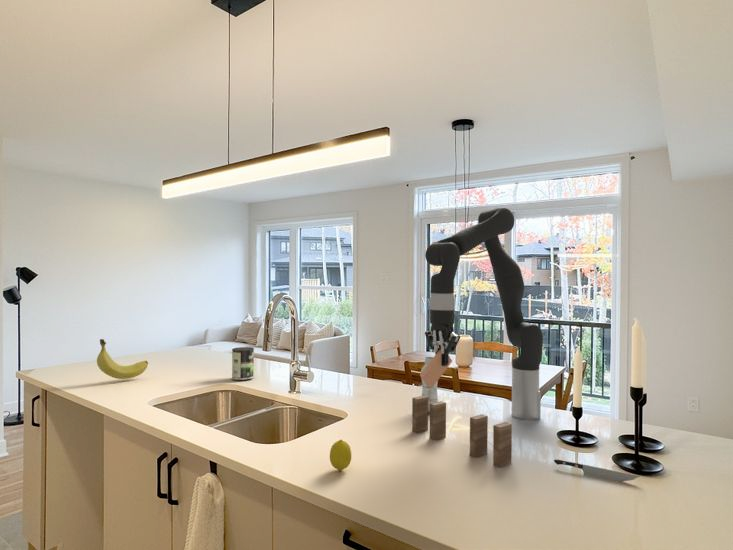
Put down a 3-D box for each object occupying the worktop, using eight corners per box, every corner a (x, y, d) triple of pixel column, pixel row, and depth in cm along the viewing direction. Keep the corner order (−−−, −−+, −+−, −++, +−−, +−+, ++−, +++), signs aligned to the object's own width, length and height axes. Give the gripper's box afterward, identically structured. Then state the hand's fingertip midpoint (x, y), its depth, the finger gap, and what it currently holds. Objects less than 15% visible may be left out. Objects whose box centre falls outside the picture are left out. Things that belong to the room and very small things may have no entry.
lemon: (343, 477, 111) (343, 445, 111) (325, 472, 113) (325, 440, 113) (355, 469, 115) (355, 438, 115) (338, 464, 118) (338, 434, 118)
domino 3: (445, 438, 138) (446, 402, 138) (434, 441, 135) (434, 405, 135) (441, 436, 140) (441, 401, 140) (429, 439, 137) (429, 403, 137)
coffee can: (256, 375, 224) (256, 347, 224) (250, 380, 213) (250, 350, 213) (235, 375, 224) (235, 346, 224) (228, 379, 213) (229, 350, 213)
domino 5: (511, 465, 119) (511, 423, 119) (499, 469, 116) (499, 427, 116) (505, 462, 120) (505, 421, 120) (493, 467, 118) (493, 425, 118)
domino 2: (432, 388, 133) (452, 361, 138) (424, 376, 131) (444, 349, 136) (427, 386, 135) (447, 360, 139) (419, 375, 133) (440, 348, 138)
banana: (145, 374, 224) (145, 334, 224) (150, 375, 220) (150, 335, 220) (94, 382, 207) (95, 338, 207) (99, 384, 203) (100, 339, 203)
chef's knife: (640, 488, 106) (640, 475, 106) (640, 490, 106) (640, 477, 106) (554, 469, 116) (554, 458, 116) (553, 471, 115) (553, 459, 115)
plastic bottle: (438, 415, 161) (439, 359, 161) (419, 413, 163) (420, 358, 163) (439, 410, 168) (439, 356, 168) (421, 408, 169) (421, 355, 169)
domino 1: (427, 430, 145) (428, 396, 145) (416, 434, 142) (416, 399, 142) (423, 429, 146) (423, 395, 146) (412, 432, 144) (412, 397, 144)
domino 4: (487, 455, 125) (487, 416, 125) (475, 459, 122) (475, 419, 122) (481, 453, 127) (482, 414, 127) (469, 457, 124) (470, 417, 124)
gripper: (467, 309, 133) (467, 367, 133) (435, 306, 144) (435, 360, 144) (449, 310, 129) (449, 370, 129) (417, 307, 140) (417, 362, 140)
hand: (441, 364), depth 137 cm, fingers closed on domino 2
